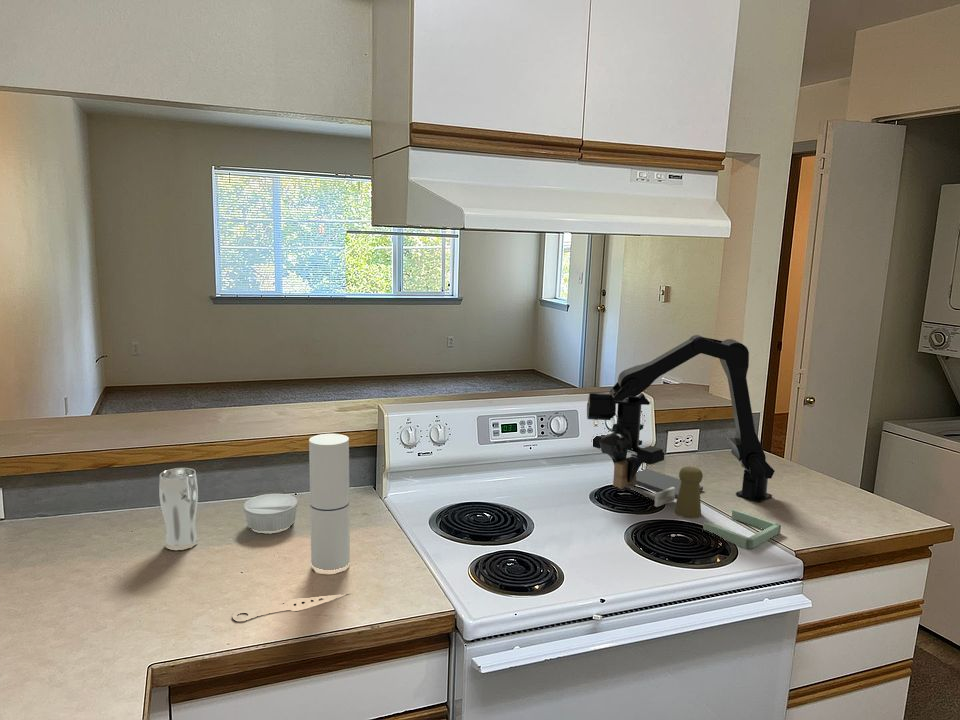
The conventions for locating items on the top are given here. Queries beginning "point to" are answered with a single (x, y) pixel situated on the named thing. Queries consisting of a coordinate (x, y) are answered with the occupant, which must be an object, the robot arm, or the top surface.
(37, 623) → the top surface
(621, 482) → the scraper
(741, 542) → the corral
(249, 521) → the ramekin
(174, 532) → the beer glass
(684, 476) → the olive pawn
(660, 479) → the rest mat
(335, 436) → the cylindrical container
